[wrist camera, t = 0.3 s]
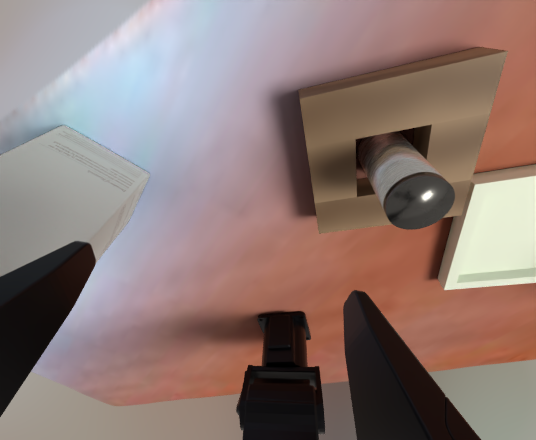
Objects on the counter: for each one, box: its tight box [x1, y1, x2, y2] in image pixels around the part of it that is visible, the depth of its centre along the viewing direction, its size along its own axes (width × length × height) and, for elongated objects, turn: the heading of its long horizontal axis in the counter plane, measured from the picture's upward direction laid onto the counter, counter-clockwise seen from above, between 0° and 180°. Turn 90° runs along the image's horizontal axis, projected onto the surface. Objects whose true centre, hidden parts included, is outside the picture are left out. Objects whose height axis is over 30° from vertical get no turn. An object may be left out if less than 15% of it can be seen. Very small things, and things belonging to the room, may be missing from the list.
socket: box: [298, 47, 508, 234], centre depth 19 cm, size 11×11×2 cm
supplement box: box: [0, 125, 150, 277], centre depth 18 cm, size 7×7×13 cm
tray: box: [438, 164, 536, 290], centre depth 23 cm, size 13×13×2 cm
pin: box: [358, 131, 455, 229], centre depth 17 cm, size 3×3×8 cm
